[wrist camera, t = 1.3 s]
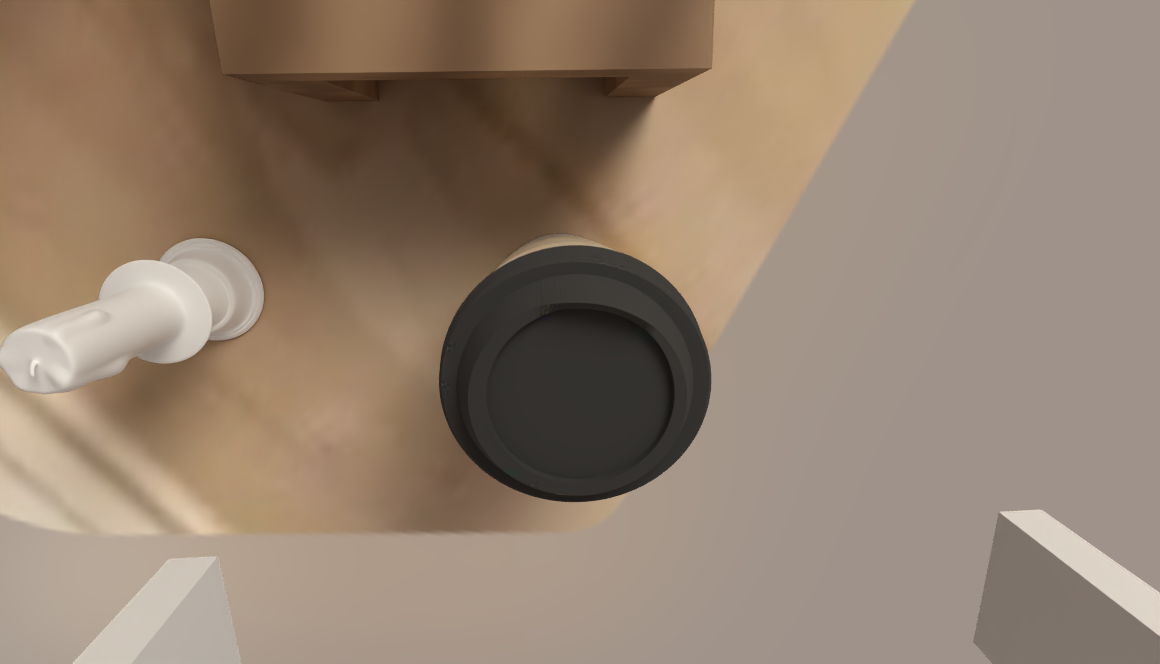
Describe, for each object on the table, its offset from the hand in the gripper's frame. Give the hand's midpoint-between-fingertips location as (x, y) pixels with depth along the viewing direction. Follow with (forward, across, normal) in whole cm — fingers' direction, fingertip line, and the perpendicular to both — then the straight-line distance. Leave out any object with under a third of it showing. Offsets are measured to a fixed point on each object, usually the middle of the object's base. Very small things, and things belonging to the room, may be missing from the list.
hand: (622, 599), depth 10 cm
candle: (+23, -18, +1) cm, 30 cm away
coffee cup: (+23, 0, 0) cm, 23 cm away
